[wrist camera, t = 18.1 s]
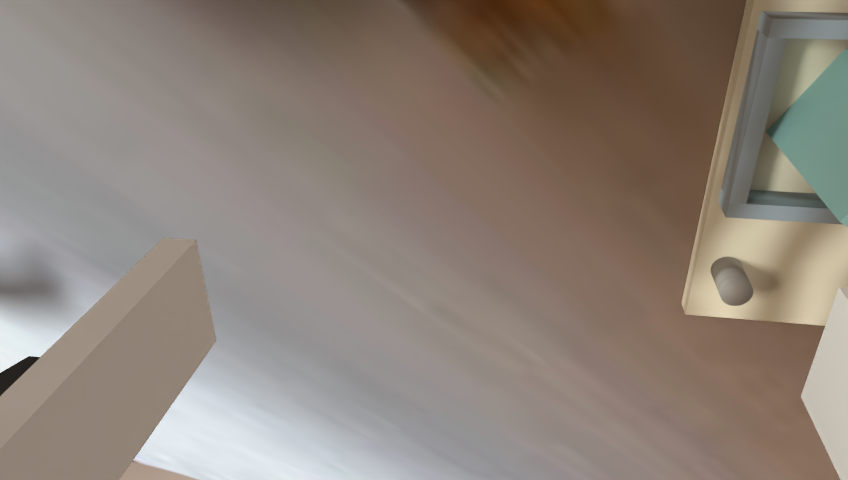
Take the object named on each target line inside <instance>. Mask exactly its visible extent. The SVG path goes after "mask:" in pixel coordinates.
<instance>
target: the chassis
mask: <svg viewBox="0 0 848 480" xmlns="http://www.w3.org/2000/svg"><path fill="white" fill-rule="evenodd" d="M844 49H847V50H848V0H746V5H745V9H744V14H743V19H742V23H741V28H740V33H739V37H738V42H737V47H736V51H735V56H734V61H733V65H732V70H731V75H730V79H729V84H728V89H727V93H726V98H725V103H724V107H723V112H722V117H721V121H720V126H719V131H718V135H717V140H716V144H715V149H714V154H713V158H712V163H711V168H710V172H709V177H708V182H707V186H706V191H705V196H704V200H703V205H702V210H701V214H700V219H699V224H698V228H697V233H696V238H695V242H694V247H693V252H692V256H691V261H690V266H689V270H688V275H687V280H686V284H685V289H684V294H683V298H682V306H683V309H684V312H685V314H688V315H700V316H712V317H725V318H737V319H749V320H761V321H774V322H786V323H798V324H811V325H823V326H826V323H827V320H828V317H829V314H830V311H831V309H832V306H833V303H834V300H835V297H836V294H837V291H838V289H839V287H841V288H848V227H847V226H845V225H844V224H842V223H841V222H839V220H838V219H837V218H836V217H835V215H834V214H833V213H832V212H831V211H830V209H829V208H828V207H827V206H826V204H825V203H824V202H823V201H822V200H821V198H820V197H819V196H818V195H817V194H816V192H815V191H814V190H813V189H812V187H811V186H810V185H809V184H808V183H807V181H806V180H805V179H804V178H803V176H802V175H801V174H800V173H799V172H798V170H797V169H796V168H795V167H794V166H793V164H792V163H791V162H790V161H789V159H788V158H787V157H786V156H785V155H784V153H783V152H782V151H781V150H780V148H779V147H778V146H777V145H776V144H775V142H774V141H773V140H772V139H771V138H770V136H769V135H768V134H767V133H766V131H767V130H768V129H769V128H770V127H771V126H772V125H773V124H774V123H775V122H776V121H777V120H778V119H779V118H780V117H781V116H782V115H783V113H784V112H785V111H786V110H787V109H788V108H789V107H790V106H791V105H792V104H793V103H794V102H795V101H796V100H797V99H798V98H799V97H800V96H801V95H802V94H803V92H804V91H805V90H806V89H807V88H808V87H809V86H810V85H811V84H812V83H813V82H814V81H815V80H816V79H817V78H818V77H819V76H820V75H821V74H822V72H823V71H824V70H825V69H826V68H827V67H828V66H829V65H830V64H831V63H832V62H833V61H834V60H835V59H836V58H837V57H838V56H839V55H840V54H841V53H842V51H843V50H844Z"/></svg>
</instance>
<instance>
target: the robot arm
mask: <svg viewBox="0 0 848 480" xmlns="http://www.w3.org/2000/svg"><path fill="white" fill-rule="evenodd" d="M215 342H216V336H215V331H214V326H213V321H212V316H211V311H210V306H209V301H208V296H207V291H206V286H205V281H204V276H203V271H202V266H201V261H200V256H199V251H198V246H197V241H196V240H188V239H175V238H163V239H162V240H161V241H160V242H159V243H158V244H157V245H156V246H155V247H154V248H153V249H152V250H151V251H150V252H149V253H147V254H146V255H145V256H144V257H143V258H142V259H141V260H140V261H139V262H138V263H137V264H136V265H135V266H134V267H133V268H132V269H131V270H130V271H129V272H128V273H127V274H126V275H125V276H124V277H123V278H122V279H121V280H120V281H119V282H118V283H117V284H115V285H114V286H113V287H112V288H111V289H110V290H109V291H108V292H107V293H106V294H105V295H104V296H103V297H102V298H101V299H100V300H99V301H98V302H97V303H96V304H95V305H94V306H93V307H92V308H91V309H90V310H89V311H88V312H87V313H86V314H85V315H84V316H82V317H81V318H80V319H79V320H78V321H77V322H76V323H75V324H74V325H73V326H72V327H71V328H70V329H69V330H68V331H67V332H66V333H65V334H64V335H63V336H62V337H61V338H60V339H59V340H58V341H57V342H56V343H55V344H54V345H53V346H52V347H51V348H49V349H48V350H47V351H46V352H45V353H44V354H43V355H42V356H41V357H31V356H29V357H27V358H25V359H24V360H22V361H20V362H18V363H17V364H15V365H13V366H12V367H10V368H8V369H6V370H5V371H3V372H1V373H0V480H119V479H120V478H121V477H122V475H123V474H124V472H125V471H126V469H127V468H128V467H129V465H130V464H131V462H132V461H133V459H134V458H135V457H136V455H137V454H138V452H139V451H140V449H141V448H142V446H143V445H144V444H145V442H146V441H147V439H148V438H149V436H150V435H151V434H152V432H153V431H154V429H155V428H156V426H157V425H158V424H159V422H160V421H161V419H162V418H163V416H164V415H165V413H166V412H167V411H168V409H169V408H170V406H171V405H172V403H173V402H174V401H175V399H176V398H177V396H178V395H179V393H180V392H181V391H182V389H183V388H184V386H185V385H186V383H187V382H188V380H189V379H190V378H191V376H192V375H193V373H194V372H195V370H196V369H197V368H198V366H199V365H200V363H201V362H202V360H203V359H204V358H205V356H206V355H207V353H208V352H209V350H210V349H211V348H212V346H213V345H214V343H215ZM801 398H802V400H803V402H804V404H805V406H806V408H807V411H808V413H809V415H810V417H811V419H812V421H813V423H814V425H815V427H816V429H817V432H818V434H819V436H820V438H821V440H822V442H823V444H824V446H825V448H826V450H827V452H828V455H829V457H830V459H831V461H832V463H833V465H834V467H835V469H836V471H837V473H838V475H839V478H840V480H848V288H841V287H839V289H838V291H837V294H836V297H835V300H834V303H833V306H832V309H831V311H830V314H829V317H828V320H827V323H826V326H825V329H824V331H823V334H822V337H821V340H820V343H819V346H818V349H817V352H816V354H815V357H814V360H813V363H812V366H811V369H810V372H809V374H808V377H807V380H806V383H805V386H804V389H803V392H802V395H801Z"/></svg>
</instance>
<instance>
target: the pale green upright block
mask: <svg viewBox="0 0 848 480" xmlns="http://www.w3.org/2000/svg"><path fill="white" fill-rule="evenodd" d="M766 133H767V134H768V135H769V136H770V138H771V139H772V140H773V141H774V142H775V144H776V145H777V146H778V147H779V148H780V150H781V151H782V152H783V153H784V155H785V156H786V157H787V158H788V159H789V161H790V162H791V163H792V164H793V166H794V167H795V168H796V169H797V170H798V172H799V173H800V174H801V175H802V176H803V178H804V179H805V180H806V181H807V183H808V184H809V185H810V186H811V187H812V189H813V190H814V191H815V192H816V194H817V195H818V196H819V197H820V198H821V200H822V201H823V202H824V203H825V204H826V206H827V207H828V208H829V209H830V211H831V212H832V213H833V214H834V215H835V217H836V218H837V219H838V220H839V222H841V223H842V224H844V225H845V226H847V227H848V50H847V49H844V50H843V51H842V53H841V54H840V55H839V56H838V57H837V58H836V59H835V60H834V61H833V62H832V63H831V64H830V65H829V66H828V67H827V68H826V69H825V70H824V71H823V72H822V74H821V75H820V76H819V77H818V78H817V79H816V80H815V81H814V82H813V83H812V84H811V85H810V86H809V87H808V88H807V89H806V90H805V91H804V92H803V94H802V95H801V96H800V97H799V98H798V99H797V100H796V101H795V102H794V103H793V104H792V105H791V106H790V107H789V108H788V109H787V110H786V111H785V112H784V113H783V115H782V116H781V117H780V118H779V119H778V120H777V121H776V122H775V123H774V124H773V125H772V126H771V127H770V128H769V129H768V130H767V131H766Z"/></svg>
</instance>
